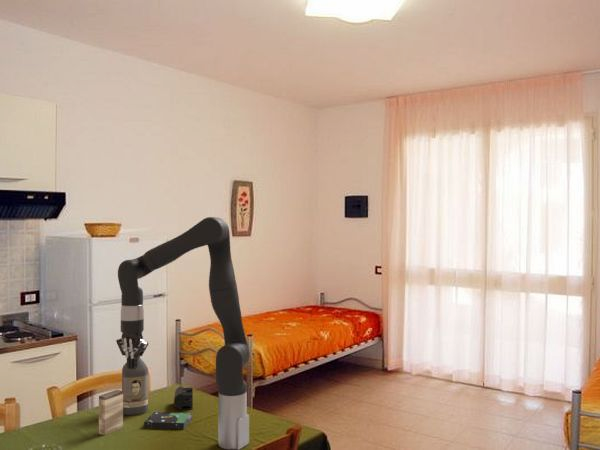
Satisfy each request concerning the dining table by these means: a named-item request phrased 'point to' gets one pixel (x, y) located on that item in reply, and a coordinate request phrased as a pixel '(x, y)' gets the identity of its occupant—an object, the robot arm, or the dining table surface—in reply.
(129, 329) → the robot arm
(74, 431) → the dining table surface
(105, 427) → the birch tile
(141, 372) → the liquor
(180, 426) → the disk drive
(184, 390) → the end cap
